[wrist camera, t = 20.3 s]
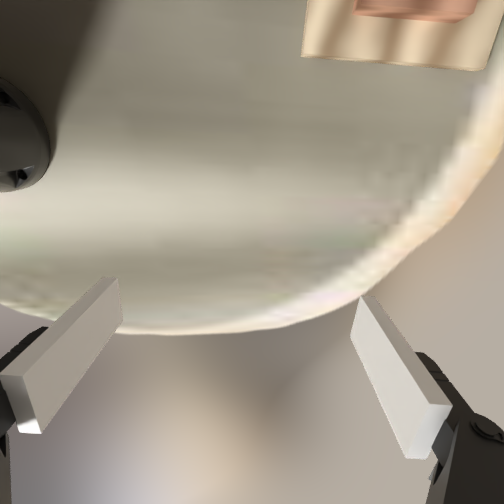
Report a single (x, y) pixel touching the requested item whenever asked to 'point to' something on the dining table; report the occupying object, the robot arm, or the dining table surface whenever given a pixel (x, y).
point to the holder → (403, 31)
